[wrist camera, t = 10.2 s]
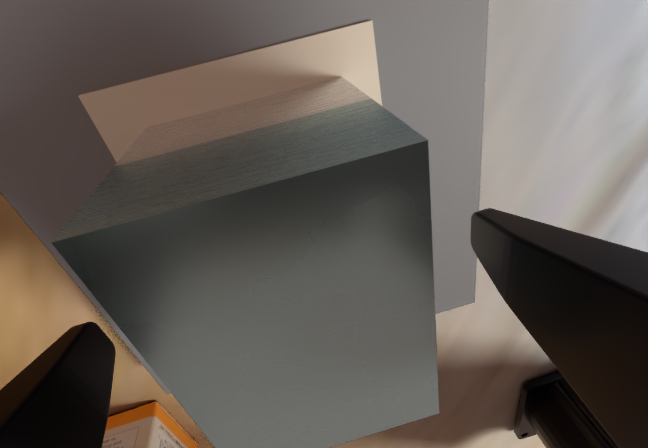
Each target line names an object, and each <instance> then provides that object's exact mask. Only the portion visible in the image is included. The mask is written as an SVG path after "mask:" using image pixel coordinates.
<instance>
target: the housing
mask: <svg viewBox="0 0 648 448" xmlns="http://www.w3.org/2000/svg"><path fill="white" fill-rule="evenodd" d="M51 243H52V244H53V246H54V247H55V248H56V249H57V251H58V252H59V253H60V254H61V256H62V257H63V258H64V259H65V261H66V262H67V263H68V264H69V266H70V267H71V268H72V269H73V271H74V272H75V273H76V274H77V276H78V277H79V278H80V279H81V281H82V282H83V283H84V284H85V286H86V287H87V288H88V289H89V291H90V292H91V293H92V294H93V296H94V297H95V298H96V299H97V301H98V302H99V303H100V304H101V306H102V307H103V308H104V309H105V311H106V312H107V313H108V314H109V316H110V317H111V318H112V319H113V321H114V322H115V323H116V324H117V326H118V327H119V328H120V329H121V331H122V332H123V333H124V334H125V336H126V337H127V338H128V339H129V341H130V342H131V343H132V344H133V346H134V347H135V348H136V349H137V351H138V352H139V353H140V354H141V356H142V357H143V358H144V359H145V361H146V362H147V363H148V364H149V366H150V367H151V368H152V369H153V371H154V372H155V373H156V374H157V376H158V377H159V378H160V379H161V381H162V382H163V383H164V384H165V386H166V387H167V388H168V389H169V391H170V392H171V393H172V394H173V396H174V397H175V398H176V399H177V401H178V402H179V403H180V404H181V406H182V407H183V408H184V409H185V411H186V412H187V413H188V414H189V416H190V417H191V418H192V419H193V421H194V422H195V423H196V424H197V426H198V427H199V428H200V429H201V431H202V432H203V433H204V434H205V436H206V437H207V438H208V439H209V441H210V442H211V443H212V444H213V446H214V447H215V448H329V447H332V446H336V445H339V444H342V443H345V442H349V441H352V440H355V439H358V438H361V437H365V436H368V435H371V434H374V433H378V432H381V431H384V430H387V429H390V428H394V427H397V426H400V425H403V424H407V423H410V422H413V421H416V420H419V419H423V418H426V417H429V416H432V415H435V414H439V394H438V369H437V345H436V320H435V295H434V271H433V246H432V221H431V196H430V172H429V147H428V140H427V139H426V138H425V137H423V136H422V135H421V134H419V133H418V132H417V131H415V130H414V129H412V128H411V127H410V126H408V125H407V124H406V123H404V122H403V121H402V120H400V119H399V118H398V117H396V116H395V115H393V114H392V113H391V112H389V111H388V110H387V109H385V108H384V107H383V106H381V105H380V104H379V103H377V102H376V101H375V100H373V99H372V98H370V97H369V96H368V95H366V94H365V93H364V92H362V91H361V90H360V89H358V88H357V87H356V86H354V85H353V84H351V83H350V82H349V81H347V80H346V79H345V78H343V77H339V78H335V79H331V80H327V81H323V82H319V83H315V84H312V85H308V86H304V87H300V88H296V89H292V90H289V91H285V92H281V93H277V94H273V95H269V96H266V97H262V98H258V99H254V100H250V101H246V102H242V103H239V104H235V105H231V106H227V107H223V108H219V109H216V110H212V111H208V112H204V113H200V114H196V115H192V116H189V117H185V118H181V119H177V120H173V121H169V122H166V123H162V124H158V125H154V126H150V127H146V128H145V129H144V130H143V132H142V133H141V134H140V135H139V137H138V138H137V139H136V140H135V141H134V143H133V144H132V145H131V146H130V147H129V149H128V150H127V151H126V152H125V154H124V155H123V156H122V157H121V158H120V160H119V161H118V162H117V163H116V165H115V166H114V167H113V168H112V169H111V171H110V172H109V173H108V174H107V175H106V177H105V178H104V179H103V180H102V182H101V183H100V184H99V185H98V186H97V188H96V189H95V190H94V191H93V192H92V194H91V195H90V196H89V197H88V199H87V200H86V201H85V202H84V203H83V205H82V206H81V207H80V208H79V209H78V211H77V212H76V213H75V214H74V216H73V217H72V218H71V219H70V220H69V222H68V223H67V224H66V225H65V226H64V228H63V229H62V230H61V231H60V233H59V234H58V235H57V236H56V237H55V239H54V240H53V241H52V242H51Z"/></svg>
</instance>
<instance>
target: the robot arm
mask: <svg viewBox="0 0 648 448" xmlns="http://www.w3.org/2000/svg"><path fill="white" fill-rule="evenodd" d="M470 241H471V246H472V248H473V250H474V252H475V254H476V255H477V257H478V259H479V260H480V262H481V263H482V265H483V267H484V268H485V270H486V272H487V273H488V275H489V277H490V278H491V280H492V281H493V283H494V285H495V286H496V288H497V290H498V291H499V293H500V294H501V296H502V297H503V299H504V300H505V302H506V303H507V304H508V306H509V307H510V309H511V310H512V311H513V312H514V314H515V315H516V316H517V318H518V319H519V320H520V321H521V323H522V324H523V325H524V327H525V328H526V329H527V330H528V332H529V333H530V334H531V335H532V337H533V338H534V339H535V341H536V342H537V343H538V344H539V346H540V347H541V348H542V350H543V351H544V352H545V353H546V355H547V356H548V357H549V359H550V360H551V361H552V362H553V364H554V365H555V366H556V368H557V369H558V370H559V371H560V372H558V373H555V374H552V375H549V376H545V377H542V378H539V379H536V380H533V381H530V382H528V383H526V384H525V385H524V386H523V388H522V393H521V398H520V404H519V409H518V414H517V419H516V424H515V430H514V433H515V434H516V436H517V437H518V438H519V439H523V438H527V437H530V436H533V435H536V434H537V435H538V437H539V438H540V439H541V441H542V442H543V444H544V445H545V447H546V448H648V253H647V252H644V251H640V250H637V249H633V248H630V247H626V246H623V245H619V244H616V243H612V242H608V241H605V240H601V239H598V238H594V237H591V236H587V235H584V234H580V233H577V232H573V231H570V230H566V229H562V228H559V227H555V226H552V225H548V224H545V223H541V222H538V221H534V220H531V219H527V218H523V217H520V216H516V215H513V214H509V213H506V212H502V211H499V210H495V209H491V208H488V209H484V210H481V211H477V212H474V213H473V214H472V217H471V236H470ZM115 353H116V352H115V347H114V345H113V343H112V341H111V340H110V339H109V338H108V337H107V336H106V334H105V333H104V332H103V331H102V330H101V329H100V327H99V326H98V325H97V324H96V323H94V322H87V323H83V324H80V325H76V326H74V327H72V328H70V329H69V330H68V331H67V332H66V333H64V334H63V335H62V336H61V337H60V338H59V339H58V340H56V341H55V342H54V343H53V344H52V345H51V346H50V347H49V348H47V349H46V350H45V351H44V352H43V353H42V354H41V355H40V356H38V357H37V358H36V359H35V360H34V361H33V362H32V363H30V364H29V365H28V366H27V367H26V368H25V369H24V370H23V371H21V372H20V373H19V374H18V375H17V376H16V377H15V378H14V379H12V380H11V381H10V382H9V383H8V384H7V385H6V386H4V387H3V388H2V389H1V390H0V448H102V444H103V439H104V435H105V430H106V425H107V420H108V414H109V407H110V398H111V389H112V381H113V372H114V363H115Z"/></svg>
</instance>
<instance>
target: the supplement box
mask: <svg viewBox="0 0 648 448" xmlns="http://www.w3.org/2000/svg"><path fill="white" fill-rule="evenodd" d="M102 448H198V444H197V443H196V441H195V440H194V439H192V438H191V436H190V435H189V434H188V433H187V432H186V431H185V430H184V429H183V428H182V427H181V426H180V425H179V424H178V423H177V422H176V421H175V419H174V418H173V417H172V416H171V415H170V414H169V413H168V412H167V411H166V410H165V409H164V408H163V407H162V406H161V405H160V404H159V403H158V402H152V403H149V404H146V405H143V406H140V407H138V408H135V409H132V410H128V411H126V412H123V413H120V414H116V415H113V416H110V417H108V420H107V425H106V430H105V435H104V439H103V444H102Z"/></svg>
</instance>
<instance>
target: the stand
mask: <svg viewBox="0 0 648 448" xmlns="http://www.w3.org/2000/svg"><path fill="white" fill-rule="evenodd" d="M488 4H489V0H0V192H1V193H2V195H3V196H4V197H5V198H6V199H7V201H8V202H9V203H10V204H11V205H12V207H13V208H14V209H15V210H16V212H17V213H18V214H19V215H20V216H21V218H22V219H23V220H24V221H25V222H26V224H27V225H28V226H29V227H30V229H31V230H32V231H33V232H34V233H35V235H36V236H37V237H38V238H39V240H40V241H41V242H42V243H43V244H44V246H45V247H46V248H47V249H48V250H49V252H50V253H51V254H52V255H53V257H54V258H55V259H56V260H57V261H58V263H59V264H60V265H61V266H62V267H63V269H64V270H65V271H66V272H67V274H68V275H69V276H70V277H71V278H72V280H73V281H74V282H75V283H76V285H77V286H78V287H79V288H80V289H81V291H82V292H83V293H84V294H85V295H86V297H87V298H88V299H89V300H90V302H91V303H92V304H93V305H94V306H95V308H96V309H97V310H98V311H99V312H100V314H101V315H102V316H103V317H104V319H105V320H106V321H107V322H108V323H109V325H110V326H111V327H112V328H113V330H114V331H115V332H116V333H117V334H118V336H119V337H120V338H121V339H122V340H123V342H124V343H125V344H126V345H127V347H128V348H129V349H130V350H131V351H132V353H133V354H134V355H135V356H136V357H137V359H138V360H139V361H140V362H141V364H142V365H143V366H144V367H145V368H146V370H147V371H148V372H149V373H150V374H151V376H152V377H153V378H154V379H155V381H156V382H157V383H158V384H159V385H160V387H161V388H162V389H163V390H164V392H165V393H166V394H169V393H171V392H170V391H169V389H168V388H167V387H166V386H165V384H164V383H163V382H162V381H161V379H160V378H159V377H158V376H157V374H156V373H155V372H154V371H153V369H152V368H151V367H150V366H149V364H148V363H147V362H146V361H145V359H144V358H143V357H142V356H141V354H140V353H139V352H138V351H137V349H136V348H135V347H134V346H133V344H132V343H131V342H130V341H129V339H128V338H127V337H126V336H125V334H124V333H123V332H122V331H121V329H120V328H119V327H118V326H117V324H116V323H115V322H114V321H113V319H112V318H111V317H110V316H109V314H108V313H107V312H106V311H105V309H104V308H103V307H102V306H101V304H100V303H99V302H98V301H97V299H96V298H95V297H94V296H93V294H92V293H91V292H90V291H89V289H88V288H87V287H86V286H85V284H84V283H83V282H82V281H81V279H80V278H79V277H78V276H77V274H76V273H75V272H74V271H73V269H72V268H71V267H70V266H69V264H68V263H67V262H66V261H65V259H64V258H63V257H62V256H61V254H60V253H59V252H58V251H57V249H56V248H55V247H54V246H53V244H52V243H51V242H52V241H53V240H54V239H55V237H56V236H57V235H58V234H59V233H60V231H61V230H62V229H63V228H64V226H65V225H66V224H67V223H68V222H69V220H70V219H71V218H72V217H73V216H74V214H75V213H76V212H77V211H78V209H79V208H80V207H81V206H82V205H83V203H84V202H85V201H86V200H87V199H88V197H89V196H90V195H91V194H92V192H93V191H94V190H95V189H96V188H97V186H98V185H99V184H100V183H101V182H102V180H103V179H104V178H105V177H106V175H107V174H108V173H109V172H110V171H111V169H112V168H113V167H114V166H115V165H116V163H117V162H118V161H119V160H120V158H121V157H122V156H123V155H124V154H125V152H126V151H127V150H128V149H129V147H130V146H131V145H132V144H133V143H134V141H135V140H136V139H137V138H138V137H139V135H140V134H141V133H142V132H143V130H144V129H145V128H146V127H150V126H154V125H158V124H162V123H166V122H169V121H173V120H177V119H181V118H185V117H189V116H192V115H196V114H200V113H204V112H208V111H212V110H216V109H219V108H223V107H227V106H231V105H235V104H239V103H242V102H246V101H250V100H254V99H258V98H262V97H266V96H269V95H273V94H277V93H281V92H285V91H289V90H292V89H296V88H300V87H304V86H308V85H312V84H315V83H319V82H323V81H327V80H331V79H335V78H339V77H343V78H345V79H346V80H347V81H349V82H350V83H351V84H353V85H354V86H356V87H357V88H358V89H360V90H361V91H362V92H364V93H365V94H366V95H368V96H369V97H370V98H372V99H373V100H375V101H376V102H377V103H379V104H380V105H381V106H383V107H384V108H385V109H387V110H388V111H389V112H391V113H392V114H393V115H395V116H396V117H398V118H399V119H400V120H402V121H403V122H404V123H406V124H407V125H408V126H410V127H411V128H412V129H414V130H415V131H417V132H418V133H419V134H421V135H422V136H423V137H425V138H426V139H427V140H428V147H429V172H430V196H431V221H432V246H433V271H434V295H435V314H437V313H440V312H444V311H447V310H450V309H454V308H457V307H460V306H464V305H467V304H470V303H474V302H475V285H476V263H477V255H476V254H475V252H474V250H473V248H472V246H471V241H470V236H471V217H472V214H473V213H474V212H477V211H479V199H480V177H481V155H482V134H483V112H484V91H485V69H486V47H487V26H488Z"/></svg>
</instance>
